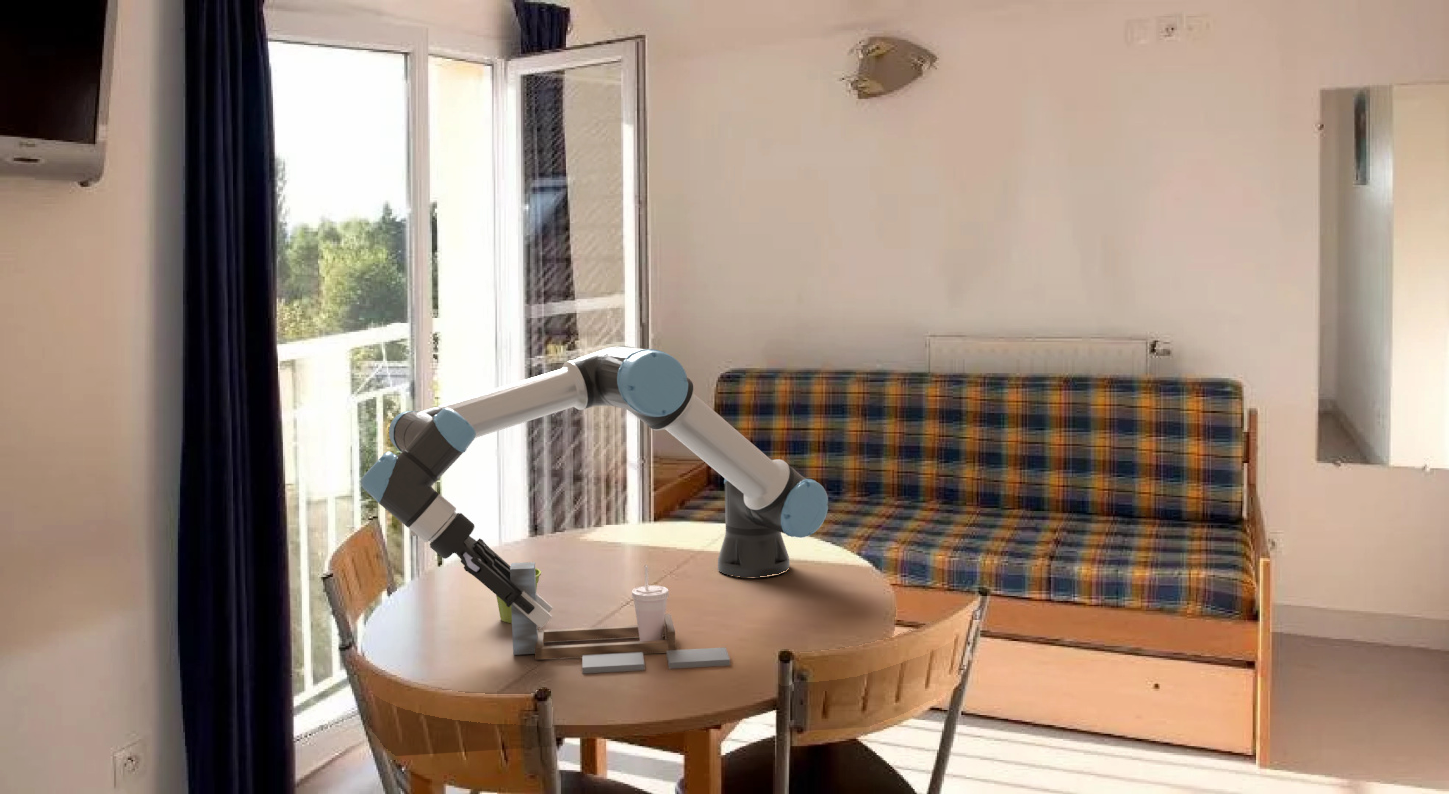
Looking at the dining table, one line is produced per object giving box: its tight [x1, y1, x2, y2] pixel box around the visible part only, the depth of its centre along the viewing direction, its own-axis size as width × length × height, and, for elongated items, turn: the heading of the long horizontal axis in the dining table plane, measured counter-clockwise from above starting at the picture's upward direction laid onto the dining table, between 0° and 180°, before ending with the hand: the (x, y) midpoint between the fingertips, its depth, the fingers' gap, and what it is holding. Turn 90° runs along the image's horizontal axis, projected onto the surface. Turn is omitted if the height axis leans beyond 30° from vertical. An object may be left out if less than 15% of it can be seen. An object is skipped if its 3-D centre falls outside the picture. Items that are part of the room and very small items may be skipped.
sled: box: [510, 561, 677, 660], centre depth 209 cm, size 27×10×15 cm, turn 97°
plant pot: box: [495, 567, 542, 624], centre depth 226 cm, size 9×9×9 cm
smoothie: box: [631, 565, 670, 641], centre depth 210 cm, size 6×6×14 cm
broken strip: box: [581, 647, 731, 674], centre depth 202 cm, size 24×6×1 cm, turn 97°
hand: (546, 617), depth 208 cm, fingers closed on sled, 4 cm apart
